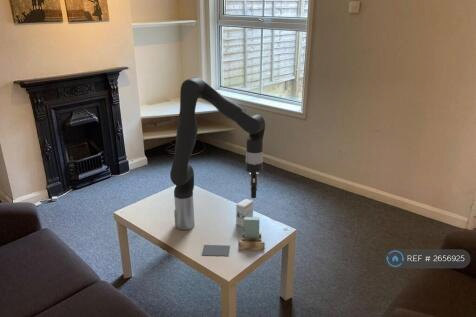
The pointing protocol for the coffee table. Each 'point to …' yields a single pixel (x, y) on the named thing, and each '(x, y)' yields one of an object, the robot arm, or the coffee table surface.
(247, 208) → the ink box
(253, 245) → the wooden bar
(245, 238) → the walnut slot block
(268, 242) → the coffee table surface
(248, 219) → the grey-green rectangular block
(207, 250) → the rubber mat
